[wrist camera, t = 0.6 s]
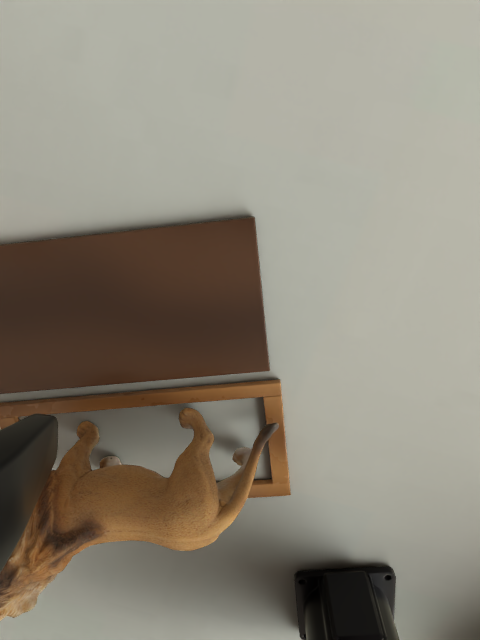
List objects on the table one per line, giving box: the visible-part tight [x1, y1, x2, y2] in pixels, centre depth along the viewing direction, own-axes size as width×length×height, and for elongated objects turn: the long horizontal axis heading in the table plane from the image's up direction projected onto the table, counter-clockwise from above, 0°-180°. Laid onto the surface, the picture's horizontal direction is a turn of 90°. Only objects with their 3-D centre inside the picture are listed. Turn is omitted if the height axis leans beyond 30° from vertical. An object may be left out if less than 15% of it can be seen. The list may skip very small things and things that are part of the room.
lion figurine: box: [0, 408, 279, 621], centre depth 21 cm, size 15×5×9 cm, turn 108°
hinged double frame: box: [0, 217, 291, 498], centre depth 24 cm, size 16×16×1 cm
